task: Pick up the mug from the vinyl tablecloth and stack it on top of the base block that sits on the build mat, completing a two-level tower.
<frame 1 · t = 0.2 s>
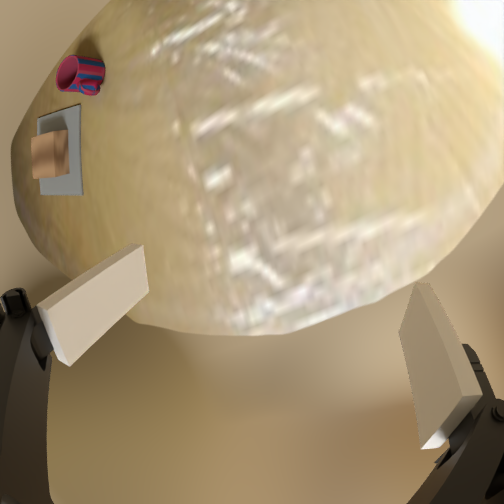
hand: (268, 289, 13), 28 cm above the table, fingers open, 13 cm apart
base block: (56, 153, 46), resting on build mat
mug: (96, 81, 39), on the table
build mat: (57, 153, 46), on the table
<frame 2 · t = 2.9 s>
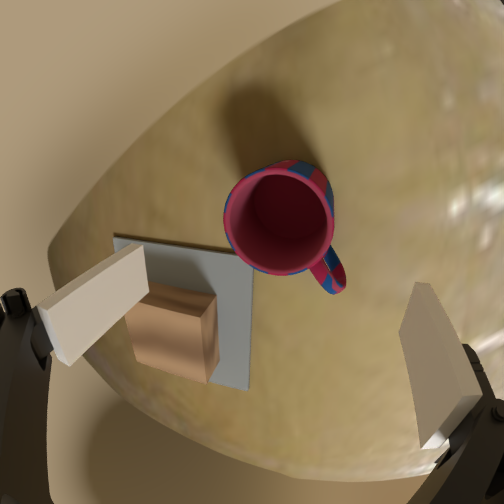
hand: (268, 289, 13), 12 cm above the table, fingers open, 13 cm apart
base block: (180, 321, 31), resting on build mat
mug: (303, 217, 23), on the table
build mat: (182, 319, 31), on the table
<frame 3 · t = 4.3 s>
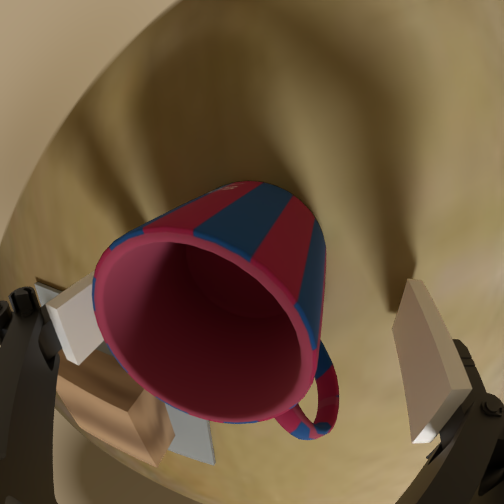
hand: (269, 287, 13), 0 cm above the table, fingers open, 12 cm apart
base block: (122, 391, 21), resting on build mat
mug: (272, 280, 14), on the table
build mat: (124, 388, 21), on the table
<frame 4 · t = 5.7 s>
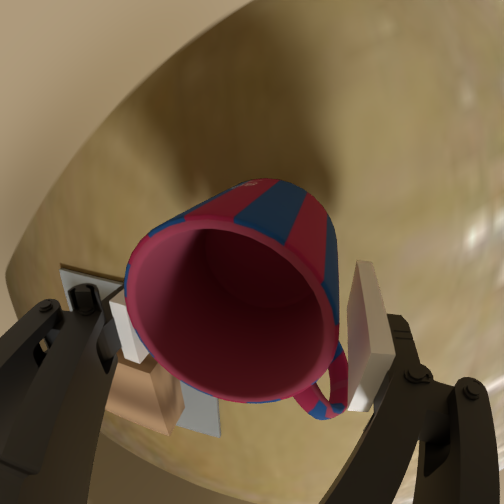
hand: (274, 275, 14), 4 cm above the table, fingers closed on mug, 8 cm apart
base block: (138, 365, 24), resting on build mat
mug: (286, 271, 15), point 3 cm above the table, touching gripper
build mat: (140, 363, 25), on the table
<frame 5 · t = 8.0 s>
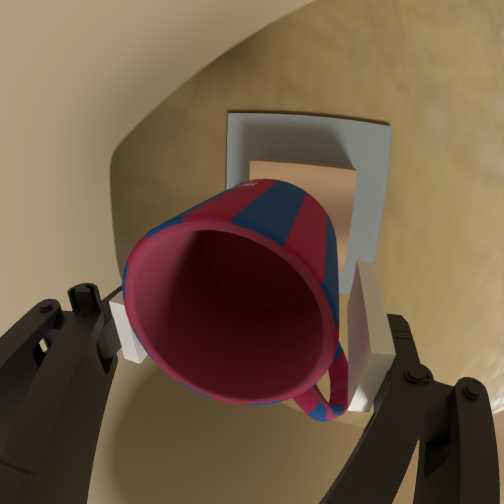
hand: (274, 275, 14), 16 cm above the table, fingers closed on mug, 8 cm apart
base block: (303, 206, 28), resting on build mat
mug: (286, 272, 14), point 15 cm above the table, touching gripper
build mat: (303, 205, 28), on the table
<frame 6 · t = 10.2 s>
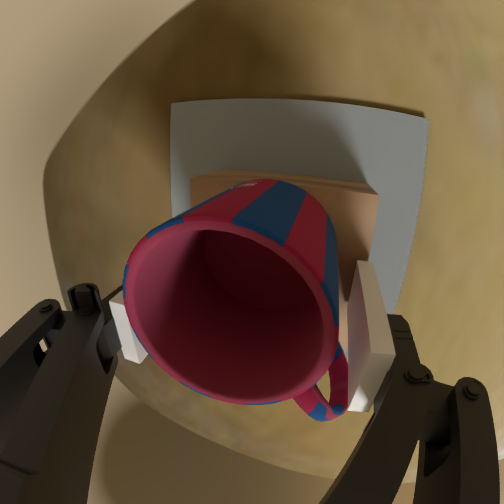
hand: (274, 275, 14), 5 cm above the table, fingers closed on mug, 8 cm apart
base block: (286, 245, 18), resting on build mat, touching gripper
mug: (286, 272, 14), point 4 cm above the table, touching gripper
build mat: (287, 243, 18), on the table
when the fingers open (5 cm above the table, at t = 10.7 s): mug stays where it is, resting on base block.
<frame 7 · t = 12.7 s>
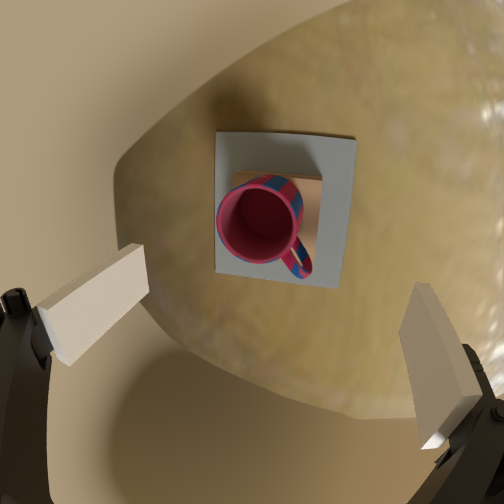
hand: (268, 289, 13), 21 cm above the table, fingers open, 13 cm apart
base block: (280, 211, 33), resting on build mat, touching mug
mug: (280, 219, 29), point 4 cm above the table, touching base block
build mat: (280, 210, 33), on the table
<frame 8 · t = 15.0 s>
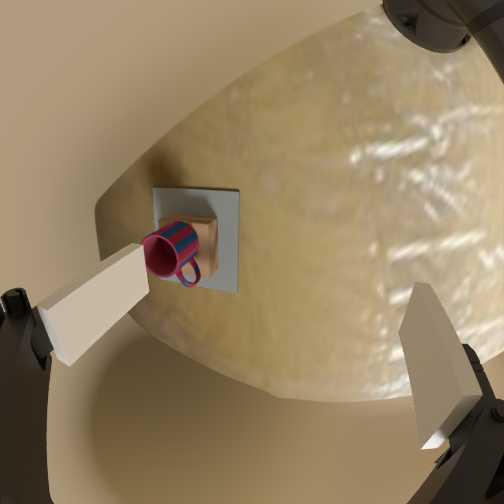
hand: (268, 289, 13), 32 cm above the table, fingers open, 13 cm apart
base block: (193, 240, 49), resting on build mat, touching mug
mug: (186, 248, 46), point 4 cm above the table, touching base block
build mat: (194, 239, 50), on the table
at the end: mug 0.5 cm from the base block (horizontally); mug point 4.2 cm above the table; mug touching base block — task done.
